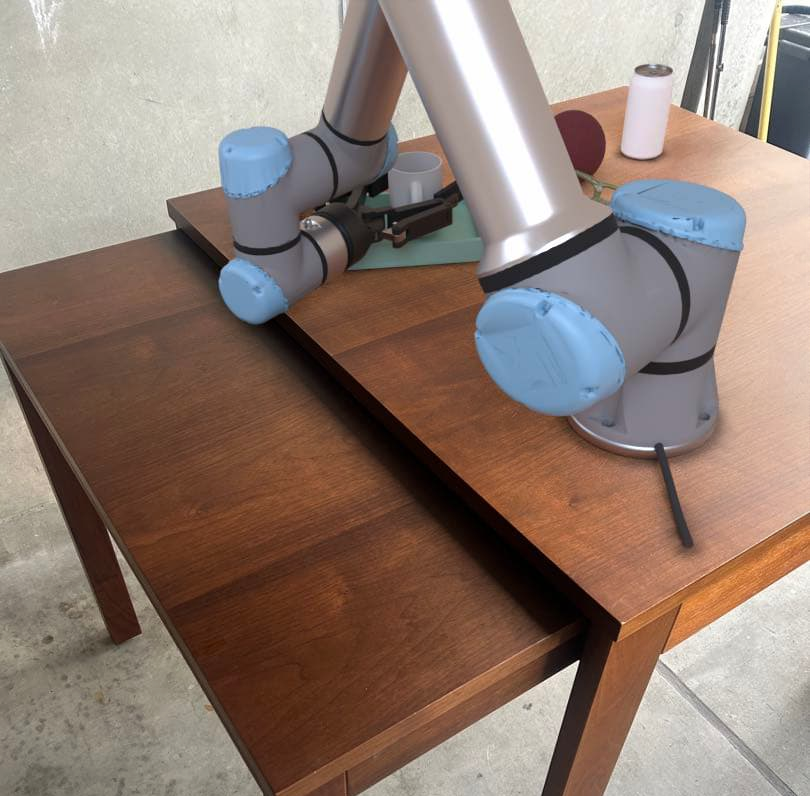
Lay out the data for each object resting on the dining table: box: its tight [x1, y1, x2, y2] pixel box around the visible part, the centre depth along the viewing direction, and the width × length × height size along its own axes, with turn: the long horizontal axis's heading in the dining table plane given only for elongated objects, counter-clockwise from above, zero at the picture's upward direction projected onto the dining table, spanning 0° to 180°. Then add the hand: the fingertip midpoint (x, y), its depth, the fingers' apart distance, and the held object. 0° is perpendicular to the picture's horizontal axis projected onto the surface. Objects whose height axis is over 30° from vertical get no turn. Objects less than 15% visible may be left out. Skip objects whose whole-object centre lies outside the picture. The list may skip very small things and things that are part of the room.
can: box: [620, 63, 675, 161], centre depth 132 cm, size 6×6×12 cm
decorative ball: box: [553, 109, 607, 184], centre depth 126 cm, size 10×10×10 cm
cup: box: [388, 150, 444, 239], centre depth 116 cm, size 7×10×9 cm
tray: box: [347, 191, 484, 271], centre depth 118 cm, size 17×19×3 cm
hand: (430, 178), depth 117 cm, fingers open, 10 cm apart
